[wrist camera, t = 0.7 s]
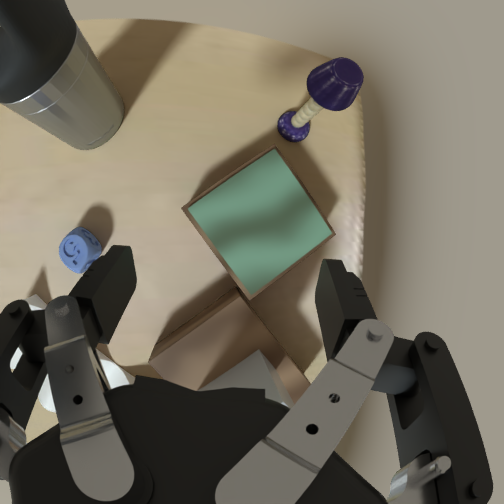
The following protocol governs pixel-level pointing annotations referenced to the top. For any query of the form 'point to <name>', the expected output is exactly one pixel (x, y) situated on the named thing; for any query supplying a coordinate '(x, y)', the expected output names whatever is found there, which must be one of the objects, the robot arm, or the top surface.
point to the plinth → (259, 221)
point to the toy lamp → (323, 96)
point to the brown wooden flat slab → (222, 347)
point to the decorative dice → (79, 250)
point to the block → (254, 379)
